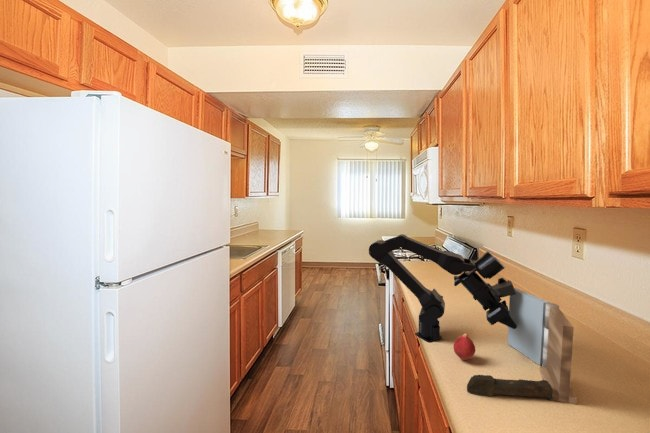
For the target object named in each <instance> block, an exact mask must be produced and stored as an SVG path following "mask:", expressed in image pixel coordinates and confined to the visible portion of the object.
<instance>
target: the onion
mask: <svg viewBox="0 0 650 433" xmlns="http://www.w3.org/2000/svg"><path fill="white" fill-rule="evenodd" d="M453 352H454V353H455V355H456V356H457V357H458V358H460V359H461V360H462V361H467V360H469V359H471V358H473V357H474V355H475V354H476V346H475V344H474V341H473V340H472V339H471V338H470V337H468V333H463V334H462V335H460V336H458V337H457V338H456V339H455V341H454V342H453Z"/></svg>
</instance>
